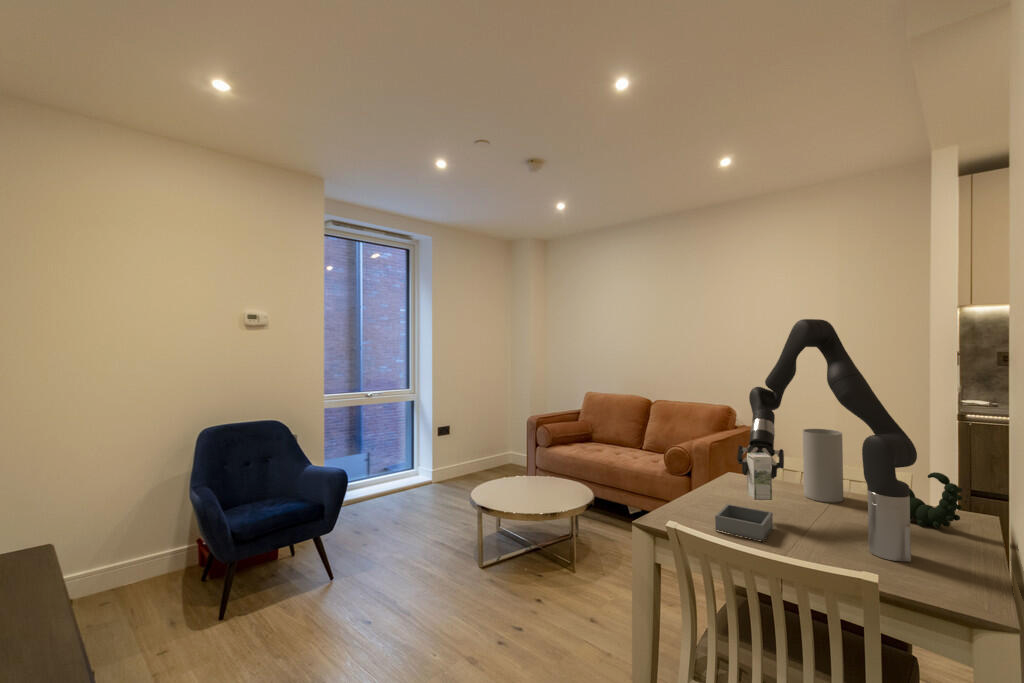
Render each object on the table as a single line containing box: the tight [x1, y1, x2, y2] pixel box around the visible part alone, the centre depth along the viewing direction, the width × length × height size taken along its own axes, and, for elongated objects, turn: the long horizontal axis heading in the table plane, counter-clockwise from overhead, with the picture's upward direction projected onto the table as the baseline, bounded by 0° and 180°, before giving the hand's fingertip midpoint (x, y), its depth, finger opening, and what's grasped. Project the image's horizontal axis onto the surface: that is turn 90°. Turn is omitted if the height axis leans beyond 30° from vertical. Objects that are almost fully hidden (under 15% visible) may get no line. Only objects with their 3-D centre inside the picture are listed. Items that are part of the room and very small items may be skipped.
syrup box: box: [746, 452, 773, 501], centre depth 159 cm, size 6×6×14 cm
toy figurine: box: [909, 472, 963, 529], centre depth 156 cm, size 9×19×25 cm
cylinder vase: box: [802, 428, 844, 504], centre depth 180 cm, size 12×12×25 cm
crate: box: [714, 503, 774, 542], centre depth 151 cm, size 14×14×5 cm
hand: (758, 475), depth 158 cm, fingers closed on syrup box, 7 cm apart
